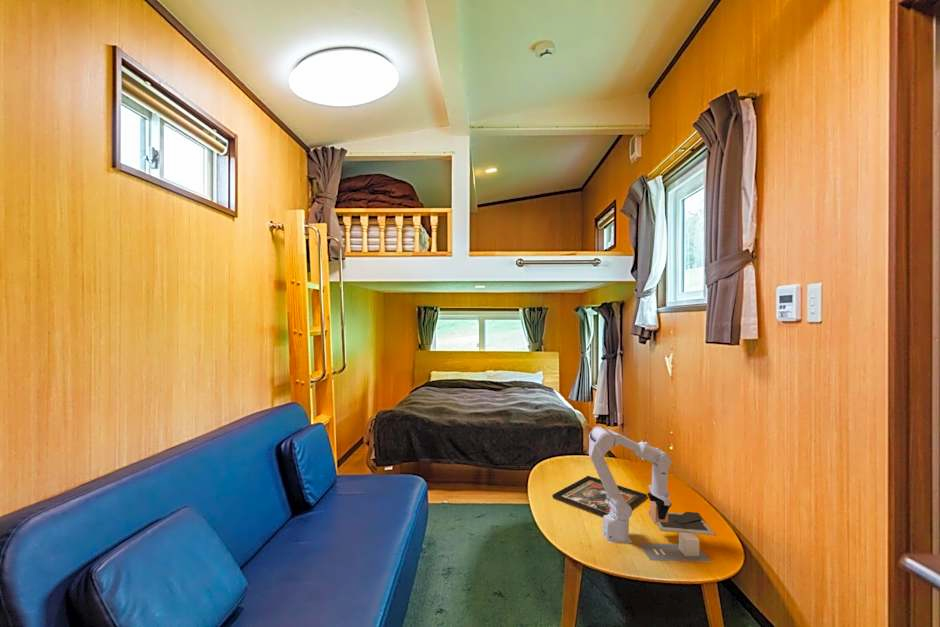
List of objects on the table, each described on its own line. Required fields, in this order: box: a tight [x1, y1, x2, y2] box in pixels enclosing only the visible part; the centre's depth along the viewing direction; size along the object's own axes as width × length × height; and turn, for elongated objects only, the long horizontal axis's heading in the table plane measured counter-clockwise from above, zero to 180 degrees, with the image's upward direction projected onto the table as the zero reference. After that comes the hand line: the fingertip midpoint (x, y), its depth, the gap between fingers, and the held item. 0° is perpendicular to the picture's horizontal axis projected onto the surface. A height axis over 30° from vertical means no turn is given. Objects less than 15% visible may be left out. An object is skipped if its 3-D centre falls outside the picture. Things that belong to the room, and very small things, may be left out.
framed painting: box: [551, 475, 648, 519], centre depth 204 cm, size 38×35×3 cm
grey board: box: [638, 542, 712, 563], centre depth 159 cm, size 22×11×1 cm, turn 91°
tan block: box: [678, 532, 701, 556], centre depth 159 cm, size 5×5×6 cm
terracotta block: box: [649, 501, 670, 522], centre depth 169 cm, size 5×5×6 cm
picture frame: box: [648, 510, 715, 536], centre depth 181 cm, size 16×3×21 cm
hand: (658, 515), depth 169 cm, fingers closed on terracotta block, 5 cm apart
